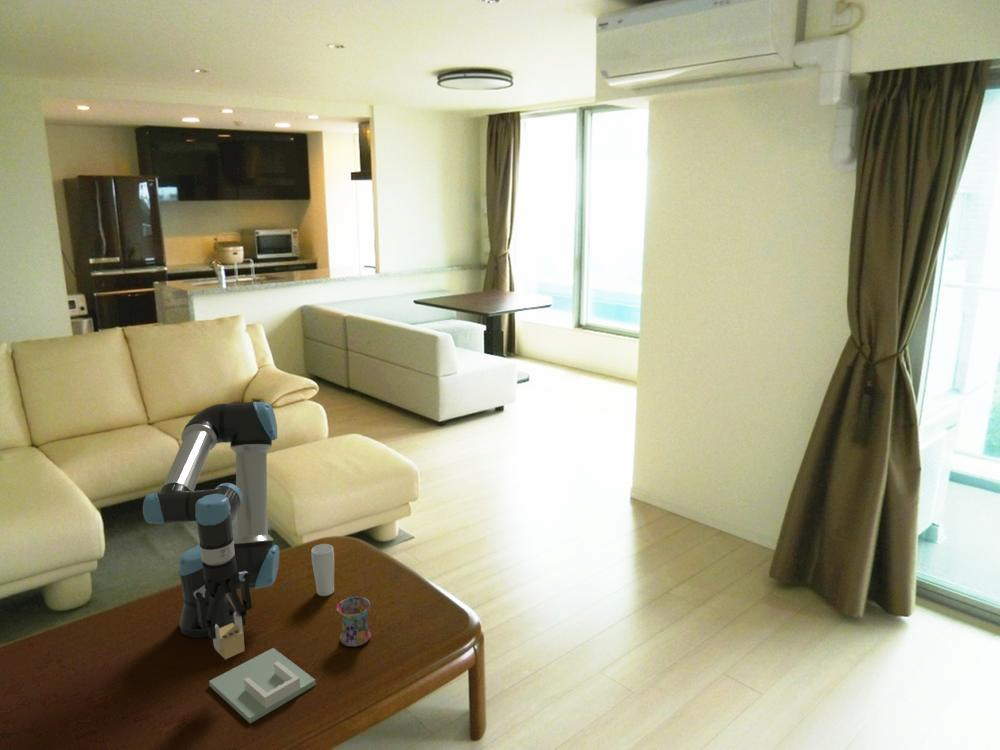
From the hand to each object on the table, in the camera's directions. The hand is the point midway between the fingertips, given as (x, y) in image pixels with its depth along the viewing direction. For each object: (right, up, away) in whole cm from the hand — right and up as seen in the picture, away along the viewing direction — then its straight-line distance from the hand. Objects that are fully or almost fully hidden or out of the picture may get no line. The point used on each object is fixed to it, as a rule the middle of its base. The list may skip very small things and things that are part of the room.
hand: (229, 642), depth 174 cm
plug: (0, -2, 0) cm, 2 cm away
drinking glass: (+13, -2, +45) cm, 47 cm away
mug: (+27, -7, +23) cm, 36 cm away
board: (+7, -12, +3) cm, 14 cm away
